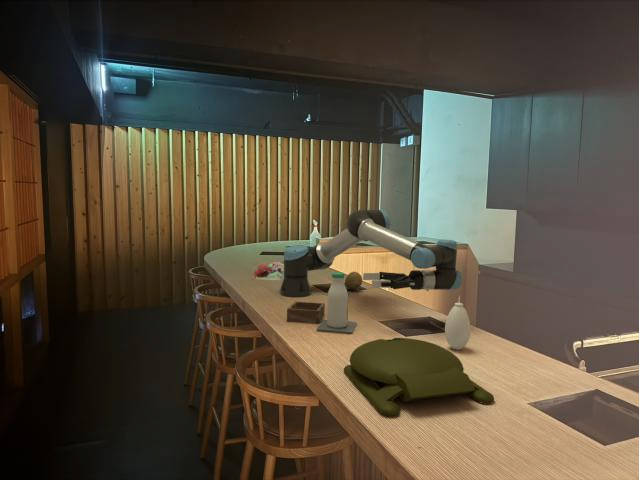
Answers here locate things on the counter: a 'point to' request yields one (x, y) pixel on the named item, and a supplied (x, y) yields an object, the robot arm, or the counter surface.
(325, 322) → the slate tile
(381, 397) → the spaceship
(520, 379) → the counter surface
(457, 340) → the grey air blower bulb
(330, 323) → the milk bottle
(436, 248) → the robot arm
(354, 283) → the natural sponge
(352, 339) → the counter surface
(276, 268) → the candy landscape model
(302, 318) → the walnut caddy
